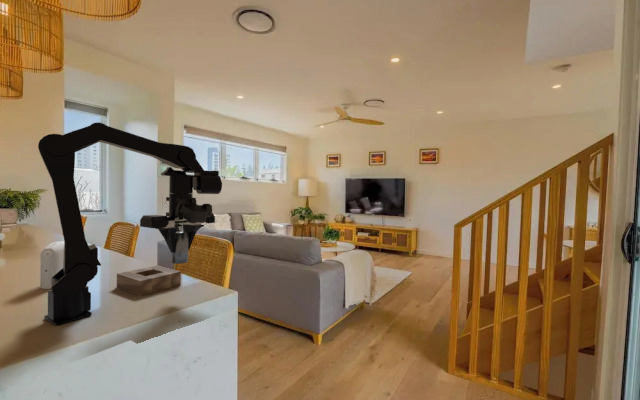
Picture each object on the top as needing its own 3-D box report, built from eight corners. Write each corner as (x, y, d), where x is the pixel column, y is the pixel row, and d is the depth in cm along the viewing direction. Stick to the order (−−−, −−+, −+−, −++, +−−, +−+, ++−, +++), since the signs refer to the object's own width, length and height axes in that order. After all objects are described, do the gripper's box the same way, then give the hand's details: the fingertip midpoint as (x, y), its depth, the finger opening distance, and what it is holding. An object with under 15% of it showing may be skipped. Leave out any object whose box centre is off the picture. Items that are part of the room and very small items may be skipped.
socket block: (140, 295, 81) (140, 281, 81) (116, 287, 87) (116, 273, 87) (180, 284, 91) (180, 271, 91) (157, 277, 97) (157, 265, 97)
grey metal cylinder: (177, 264, 79) (178, 233, 79) (168, 262, 81) (169, 232, 81) (191, 261, 83) (191, 232, 82) (182, 259, 85) (182, 231, 84)
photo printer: (56, 288, 84) (56, 244, 84) (37, 290, 83) (37, 245, 83) (74, 278, 94) (74, 239, 94) (57, 279, 93) (57, 239, 93)
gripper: (166, 194, 69) (165, 262, 70) (229, 194, 85) (227, 249, 86) (139, 193, 75) (138, 255, 75) (202, 193, 91) (201, 245, 91)
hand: (180, 251), depth 82 cm, fingers closed on grey metal cylinder, 4 cm apart
